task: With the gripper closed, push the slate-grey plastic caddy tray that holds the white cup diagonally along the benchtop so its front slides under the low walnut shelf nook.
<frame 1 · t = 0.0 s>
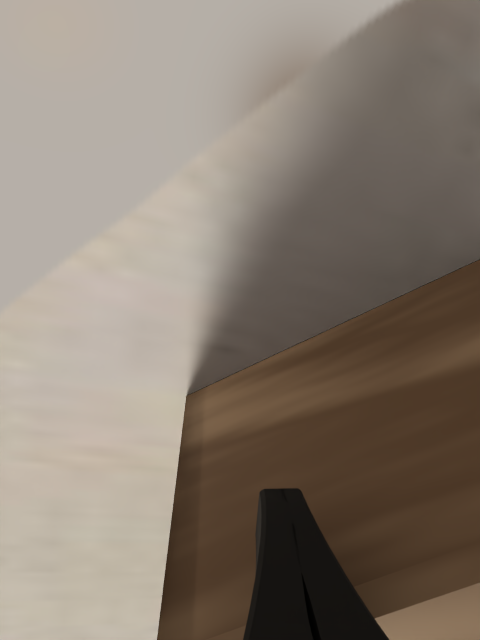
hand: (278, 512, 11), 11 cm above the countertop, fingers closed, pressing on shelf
shelf: (378, 412, 23), on the countertop
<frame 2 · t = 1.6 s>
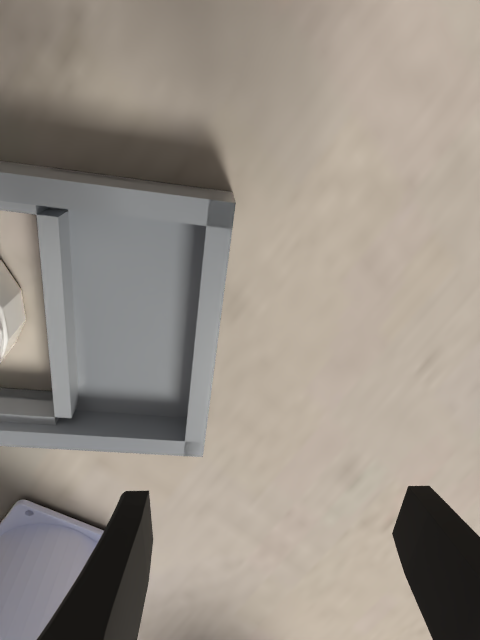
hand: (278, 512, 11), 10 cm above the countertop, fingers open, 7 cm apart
tray: (18, 305, 19), on the countertop
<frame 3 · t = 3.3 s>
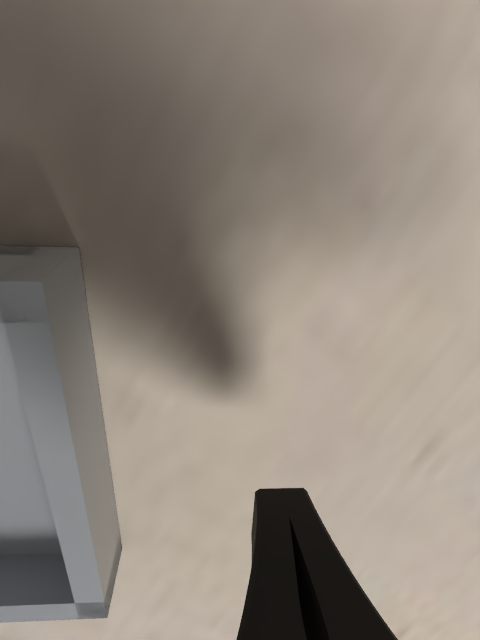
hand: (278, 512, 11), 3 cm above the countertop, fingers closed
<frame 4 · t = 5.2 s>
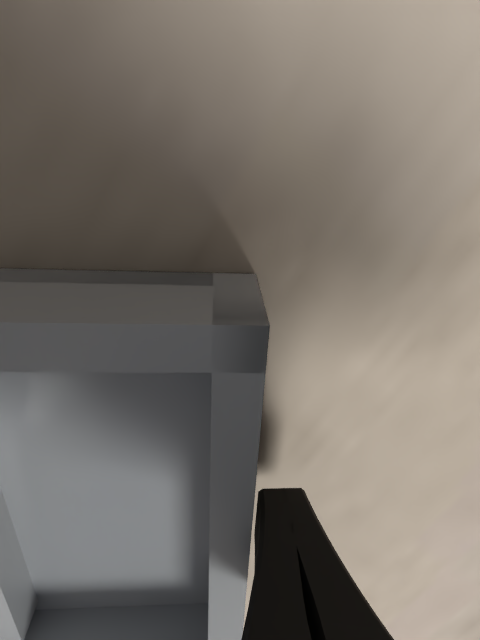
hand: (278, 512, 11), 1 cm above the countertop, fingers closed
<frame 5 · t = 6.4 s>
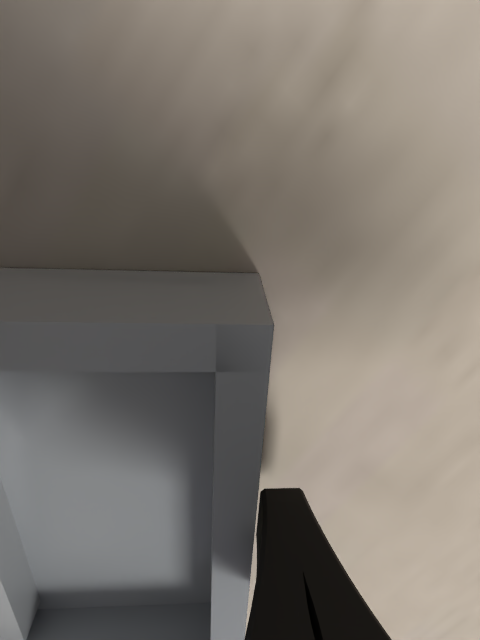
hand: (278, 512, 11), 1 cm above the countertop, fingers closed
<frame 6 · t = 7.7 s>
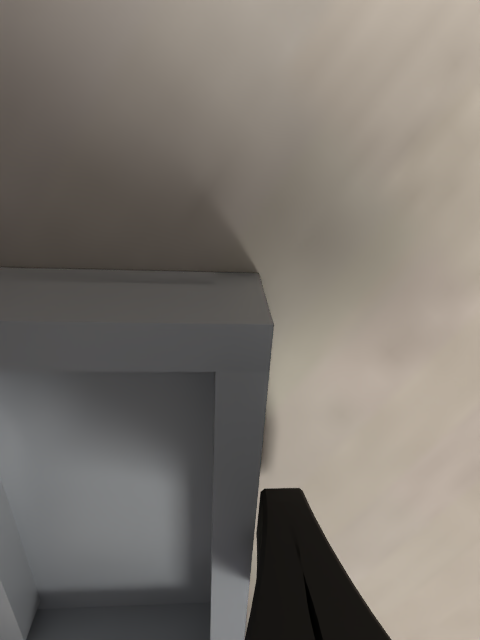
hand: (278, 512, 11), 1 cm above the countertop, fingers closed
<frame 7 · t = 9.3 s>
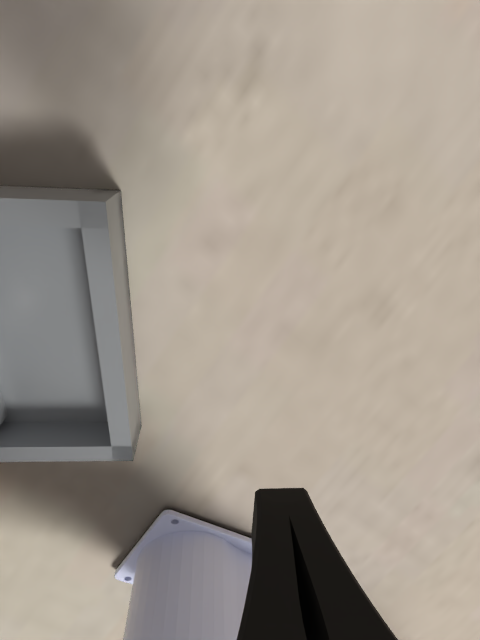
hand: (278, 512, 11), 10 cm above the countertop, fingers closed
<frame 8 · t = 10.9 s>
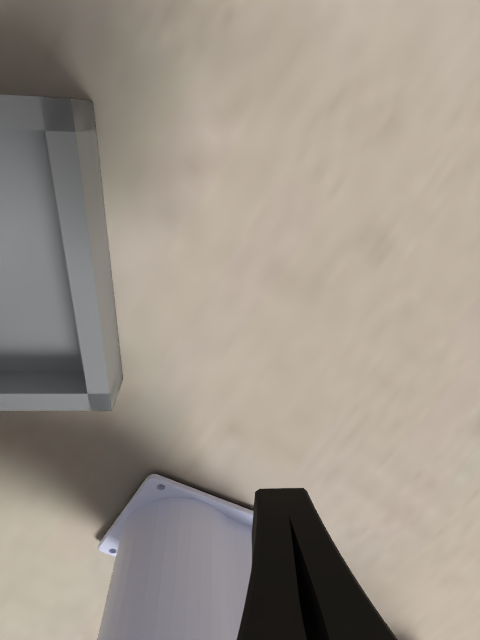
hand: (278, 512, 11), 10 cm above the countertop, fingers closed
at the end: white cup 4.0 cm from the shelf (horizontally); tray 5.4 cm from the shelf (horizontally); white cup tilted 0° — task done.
